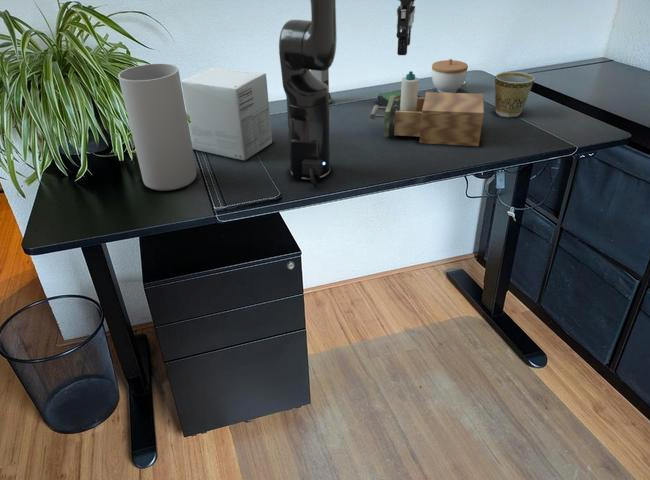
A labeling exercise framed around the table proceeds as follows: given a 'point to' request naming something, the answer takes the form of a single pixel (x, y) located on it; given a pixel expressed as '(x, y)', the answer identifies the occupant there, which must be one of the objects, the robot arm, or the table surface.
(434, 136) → the cabinet
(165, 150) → the cylinder vase
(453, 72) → the trinket box
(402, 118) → the drawer
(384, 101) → the disk drive
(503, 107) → the ceramic cup
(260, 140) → the supplement box
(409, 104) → the lotion bottle
